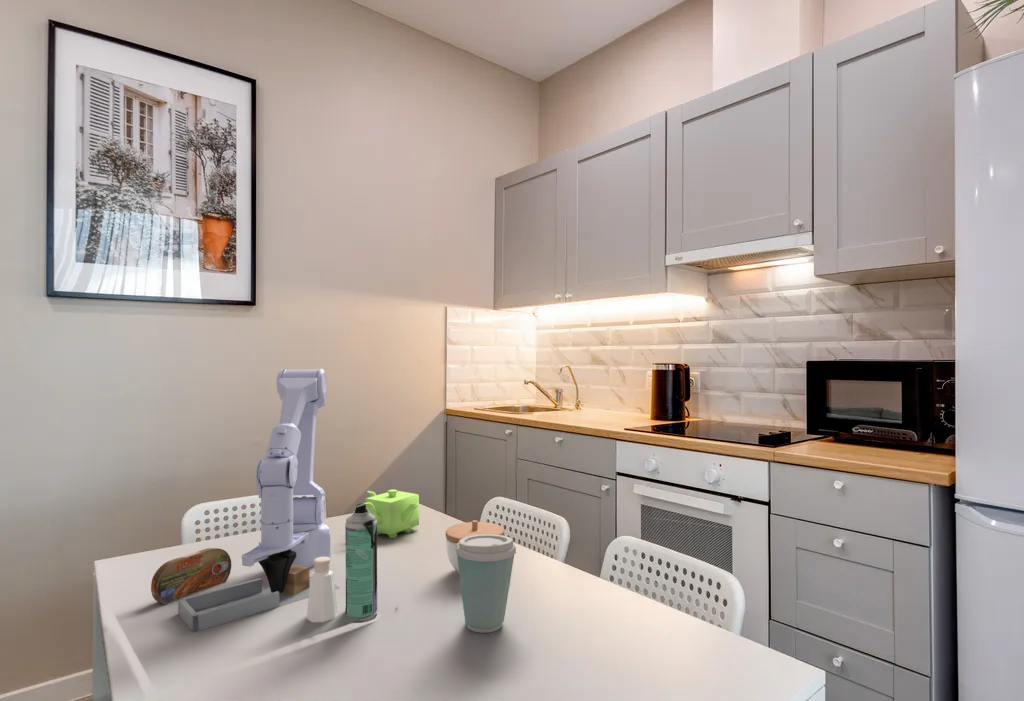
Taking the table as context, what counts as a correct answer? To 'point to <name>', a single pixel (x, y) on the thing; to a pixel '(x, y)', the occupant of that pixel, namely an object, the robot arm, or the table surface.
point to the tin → (190, 574)
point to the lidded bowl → (466, 530)
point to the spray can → (361, 564)
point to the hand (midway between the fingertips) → (277, 591)
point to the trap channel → (233, 603)
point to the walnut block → (297, 580)
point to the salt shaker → (322, 592)
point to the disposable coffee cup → (485, 579)
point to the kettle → (394, 511)
